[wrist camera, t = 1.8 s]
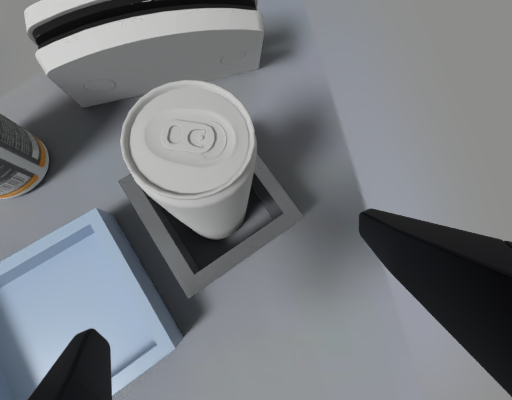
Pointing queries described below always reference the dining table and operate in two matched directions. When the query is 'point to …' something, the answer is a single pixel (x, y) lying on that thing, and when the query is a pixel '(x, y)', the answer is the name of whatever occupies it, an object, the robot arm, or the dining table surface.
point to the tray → (79, 305)
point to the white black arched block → (142, 43)
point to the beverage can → (193, 154)
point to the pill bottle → (20, 159)
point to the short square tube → (199, 279)
